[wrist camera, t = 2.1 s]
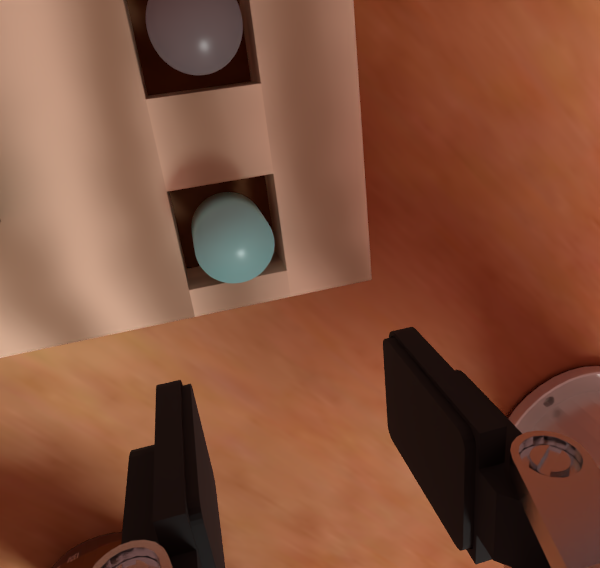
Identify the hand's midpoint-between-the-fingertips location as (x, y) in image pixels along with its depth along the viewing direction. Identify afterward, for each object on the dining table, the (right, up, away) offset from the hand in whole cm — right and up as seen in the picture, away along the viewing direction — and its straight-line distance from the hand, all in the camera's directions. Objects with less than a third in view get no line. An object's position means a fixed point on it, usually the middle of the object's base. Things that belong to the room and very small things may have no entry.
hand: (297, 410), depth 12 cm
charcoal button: (-5, +14, +10) cm, 18 cm away
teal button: (-4, +6, +14) cm, 15 cm away
